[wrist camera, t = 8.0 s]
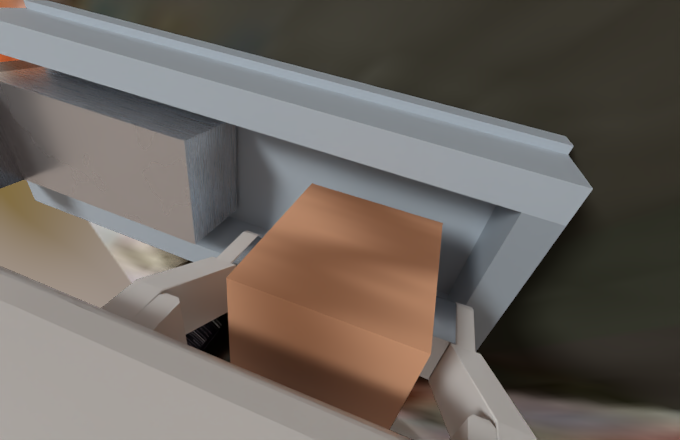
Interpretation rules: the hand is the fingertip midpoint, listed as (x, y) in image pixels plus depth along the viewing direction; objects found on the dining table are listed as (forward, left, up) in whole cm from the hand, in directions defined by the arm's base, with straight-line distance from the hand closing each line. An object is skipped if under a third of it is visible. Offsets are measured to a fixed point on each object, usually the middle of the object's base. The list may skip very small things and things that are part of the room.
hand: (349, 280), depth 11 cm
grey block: (+12, 0, -4) cm, 12 cm away
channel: (+6, 0, -5) cm, 8 cm away
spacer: (0, 0, -2) cm, 2 cm away
